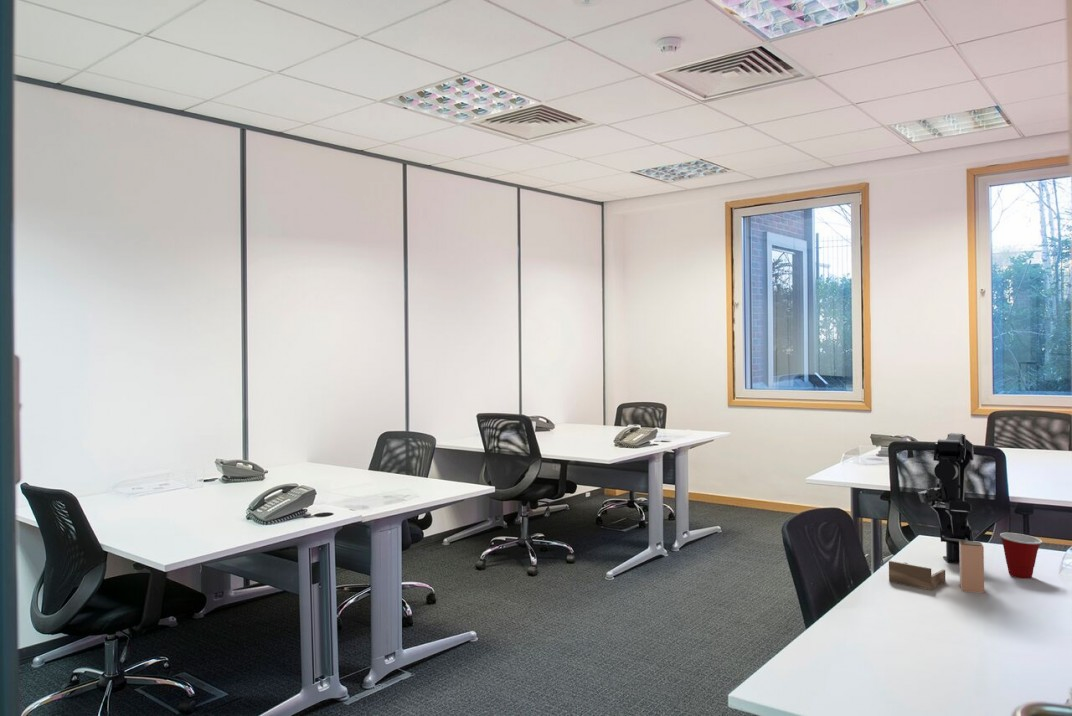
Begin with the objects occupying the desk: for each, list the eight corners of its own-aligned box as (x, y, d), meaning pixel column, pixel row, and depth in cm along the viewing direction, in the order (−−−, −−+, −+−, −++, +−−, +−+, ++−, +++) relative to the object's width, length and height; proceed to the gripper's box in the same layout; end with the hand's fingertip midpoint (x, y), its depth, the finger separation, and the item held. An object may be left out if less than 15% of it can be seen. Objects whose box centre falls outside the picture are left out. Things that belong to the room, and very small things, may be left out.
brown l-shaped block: (904, 573, 229) (904, 554, 229) (945, 581, 221) (945, 561, 221) (889, 581, 222) (888, 561, 222) (930, 590, 213) (930, 569, 213)
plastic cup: (1041, 583, 218) (1041, 542, 218) (998, 577, 224) (997, 537, 224) (1044, 574, 226) (1043, 535, 226) (1002, 569, 233) (1001, 530, 233)
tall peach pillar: (959, 585, 217) (959, 539, 217) (981, 587, 215) (981, 541, 215) (961, 590, 212) (961, 544, 212) (984, 593, 210) (983, 545, 210)
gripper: (911, 477, 241) (910, 526, 239) (932, 480, 223) (931, 533, 221) (948, 479, 239) (948, 529, 238) (972, 482, 221) (972, 536, 219)
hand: (949, 532), depth 229 cm, fingers open, 9 cm apart
